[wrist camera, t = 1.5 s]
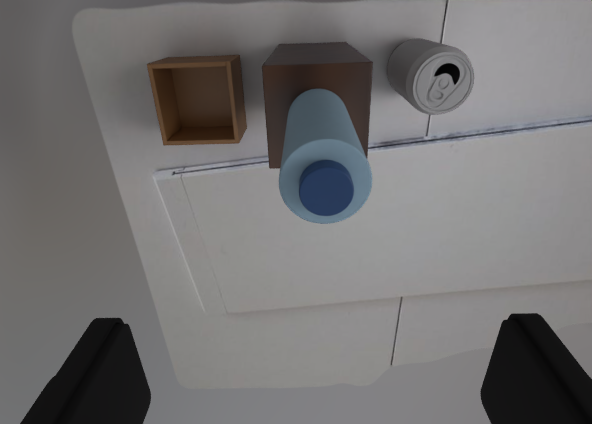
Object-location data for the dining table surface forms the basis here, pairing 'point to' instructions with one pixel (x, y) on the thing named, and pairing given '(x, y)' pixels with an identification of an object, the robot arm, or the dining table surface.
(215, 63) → the open wooden box
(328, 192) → the bottle
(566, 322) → the dining table surface
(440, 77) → the beverage can
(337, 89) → the plinth
